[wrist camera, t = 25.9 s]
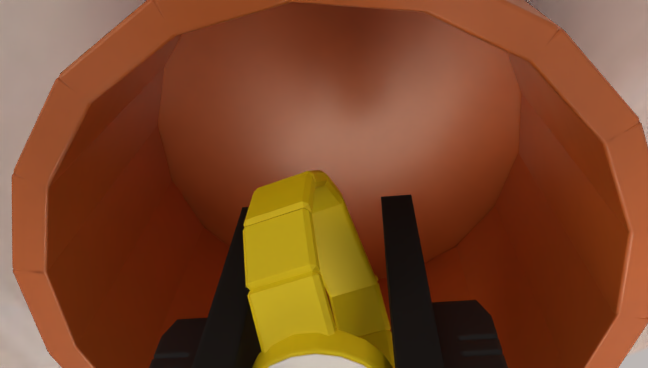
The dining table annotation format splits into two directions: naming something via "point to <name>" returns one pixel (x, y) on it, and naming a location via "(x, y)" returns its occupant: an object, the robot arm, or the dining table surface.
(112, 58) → the pot
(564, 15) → the dining table surface
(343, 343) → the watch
